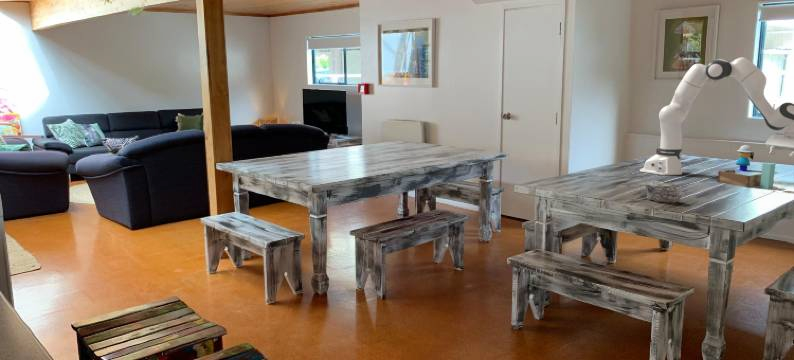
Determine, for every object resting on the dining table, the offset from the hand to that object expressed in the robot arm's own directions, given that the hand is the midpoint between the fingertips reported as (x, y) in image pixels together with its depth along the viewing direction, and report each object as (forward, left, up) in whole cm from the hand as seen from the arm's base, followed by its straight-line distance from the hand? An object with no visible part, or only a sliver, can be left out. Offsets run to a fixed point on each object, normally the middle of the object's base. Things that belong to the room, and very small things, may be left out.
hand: (780, 155), depth 312 cm
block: (-3, -8, -15) cm, 18 cm away
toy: (-25, +46, -17) cm, 55 cm away
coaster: (-3, -8, -16) cm, 18 cm away
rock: (-32, -70, -17) cm, 79 cm away
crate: (-16, -4, -16) cm, 23 cm away
